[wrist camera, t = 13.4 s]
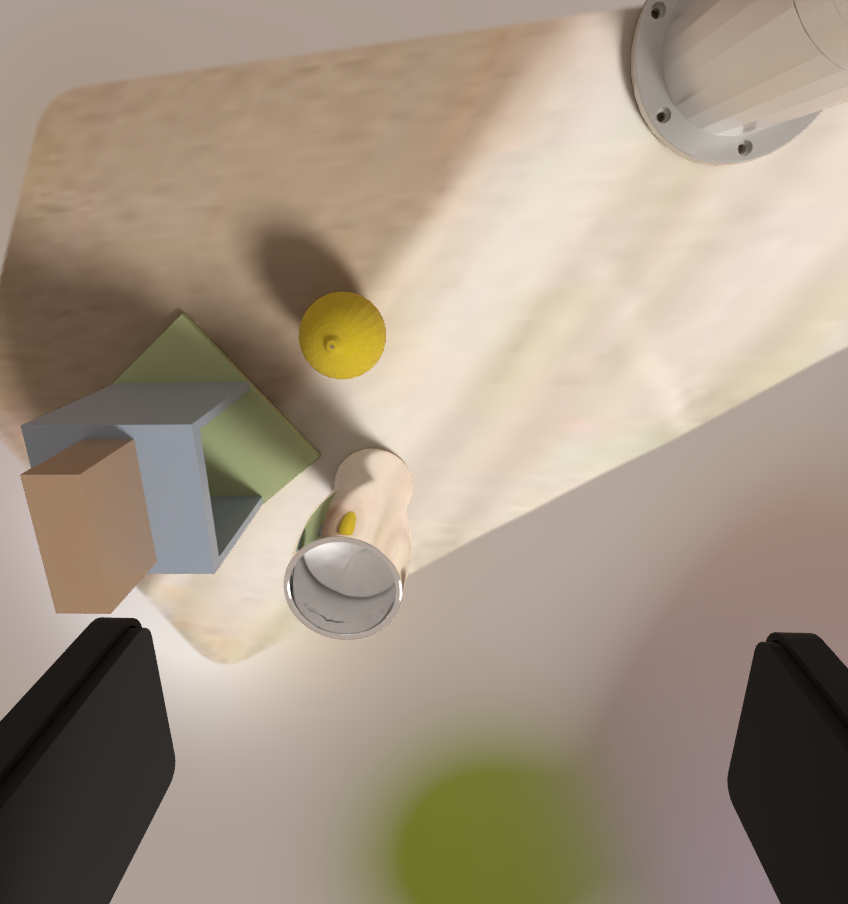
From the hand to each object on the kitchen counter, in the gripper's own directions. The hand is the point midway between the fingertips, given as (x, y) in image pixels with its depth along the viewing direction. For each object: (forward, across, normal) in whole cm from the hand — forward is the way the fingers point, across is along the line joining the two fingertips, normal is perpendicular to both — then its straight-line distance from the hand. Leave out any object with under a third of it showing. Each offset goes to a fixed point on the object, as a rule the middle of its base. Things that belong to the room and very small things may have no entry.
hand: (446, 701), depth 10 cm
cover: (+35, +20, +8) cm, 41 cm away
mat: (+36, +20, +8) cm, 42 cm away
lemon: (+36, +7, 0) cm, 37 cm away
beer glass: (+36, +6, +12) cm, 39 cm away
